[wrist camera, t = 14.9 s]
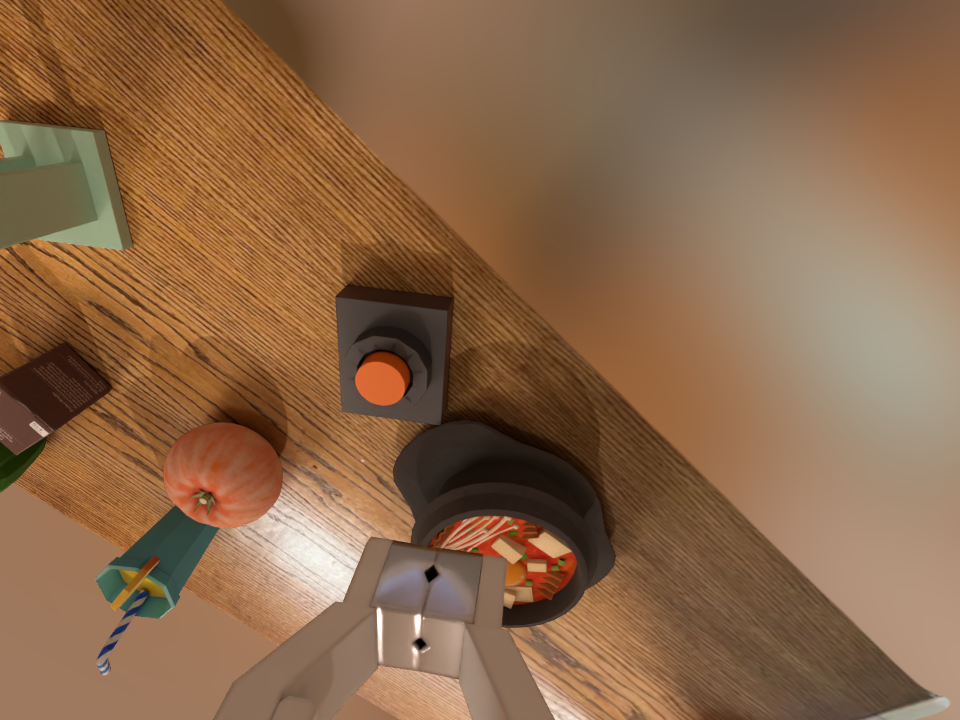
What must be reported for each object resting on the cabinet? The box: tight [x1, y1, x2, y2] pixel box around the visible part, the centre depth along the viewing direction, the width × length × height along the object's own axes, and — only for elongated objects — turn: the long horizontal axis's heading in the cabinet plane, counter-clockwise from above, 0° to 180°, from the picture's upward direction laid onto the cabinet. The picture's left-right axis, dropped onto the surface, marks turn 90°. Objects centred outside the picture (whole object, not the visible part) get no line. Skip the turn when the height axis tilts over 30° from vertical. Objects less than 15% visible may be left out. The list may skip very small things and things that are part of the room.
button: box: [355, 351, 410, 406], centre depth 40 cm, size 4×4×2 cm
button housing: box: [336, 285, 454, 426], centre depth 43 cm, size 11×9×4 cm
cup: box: [96, 505, 219, 675], centre depth 52 cm, size 14×8×15 cm, turn 158°
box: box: [0, 343, 112, 455], centre depth 47 cm, size 6×6×7 cm
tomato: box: [163, 422, 283, 528], centre depth 49 cm, size 11×11×8 cm
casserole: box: [393, 420, 616, 628], centre depth 48 cm, size 25×19×8 cm
